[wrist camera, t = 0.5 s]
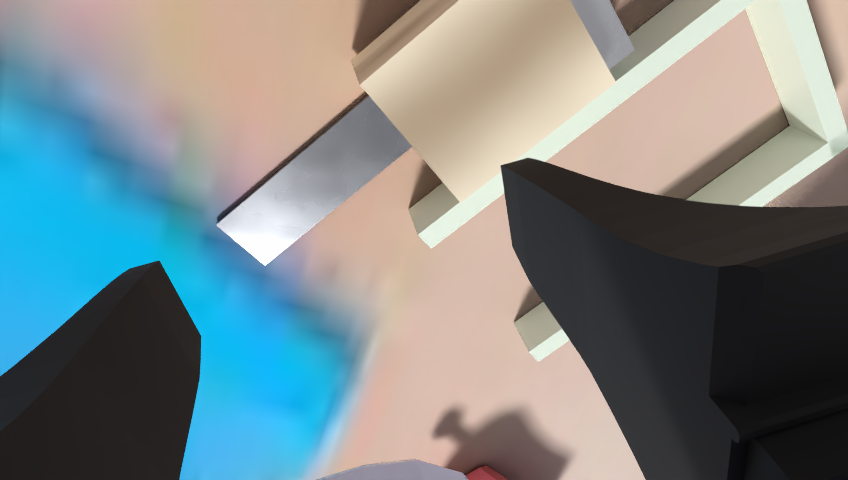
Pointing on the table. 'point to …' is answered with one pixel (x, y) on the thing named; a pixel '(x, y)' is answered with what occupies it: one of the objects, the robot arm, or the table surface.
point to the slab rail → (359, 158)
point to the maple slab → (481, 81)
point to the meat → (484, 474)
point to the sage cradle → (654, 52)
